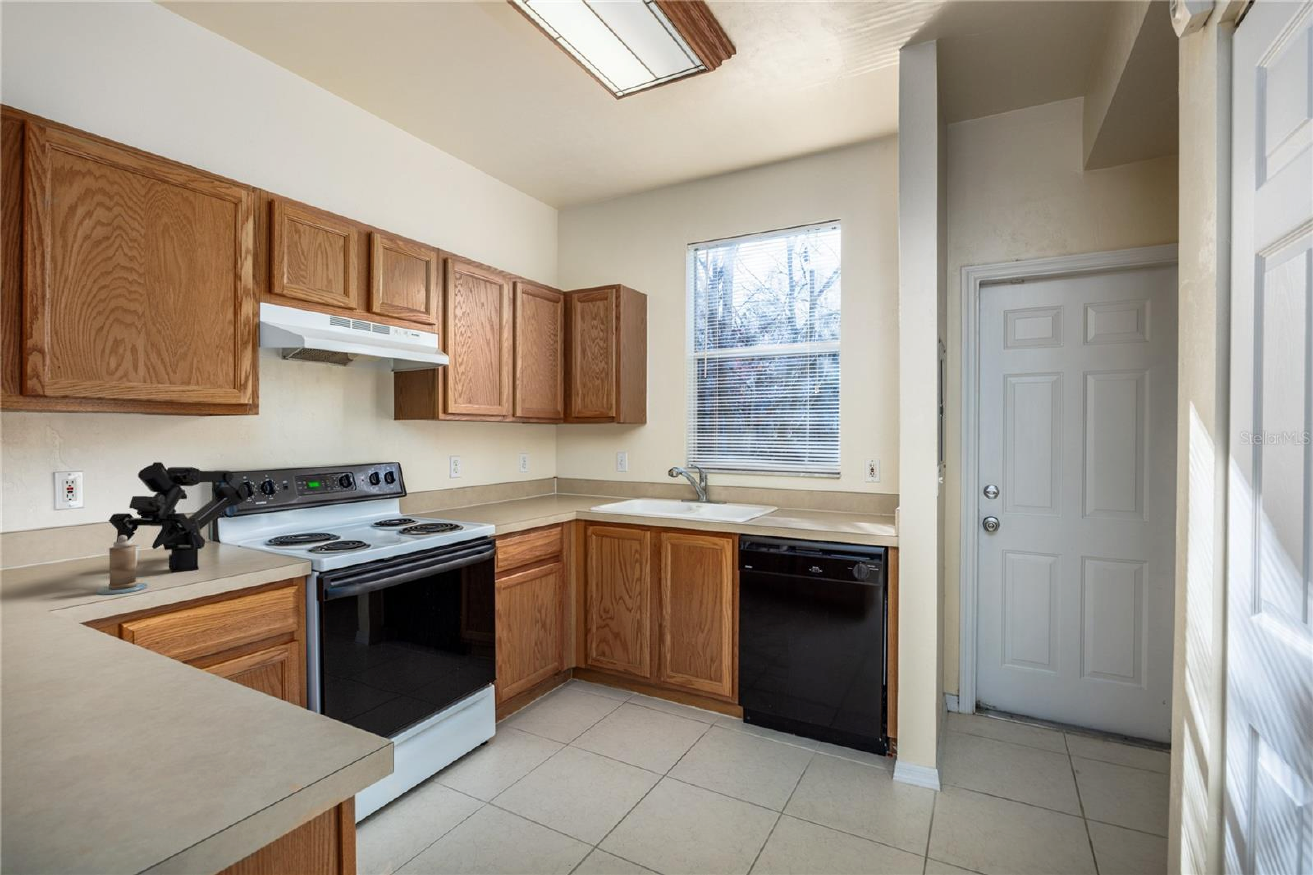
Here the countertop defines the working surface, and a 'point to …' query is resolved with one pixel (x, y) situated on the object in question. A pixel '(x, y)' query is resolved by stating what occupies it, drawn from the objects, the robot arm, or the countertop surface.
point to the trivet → (110, 592)
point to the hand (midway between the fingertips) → (135, 548)
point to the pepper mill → (122, 565)
